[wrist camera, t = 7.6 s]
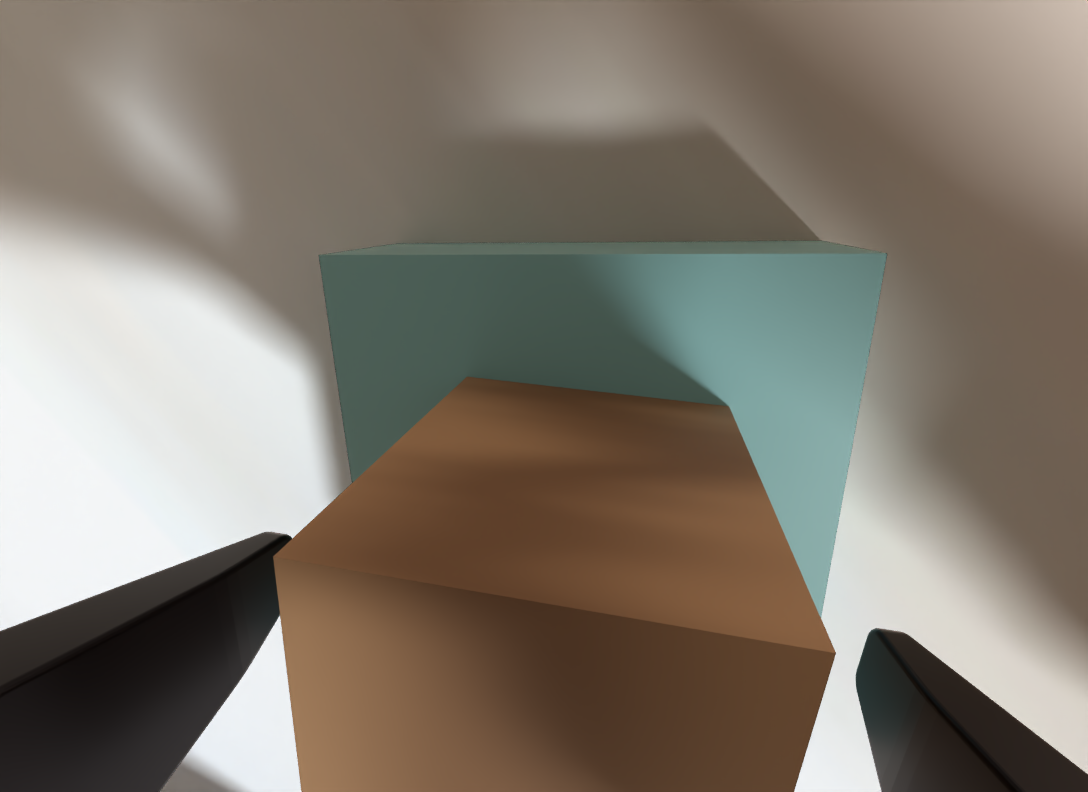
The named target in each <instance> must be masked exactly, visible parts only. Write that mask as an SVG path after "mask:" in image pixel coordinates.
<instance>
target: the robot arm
mask: <svg viewBox="0 0 1088 792" xmlns="http://www.w3.org/2000/svg"><path fill="white" fill-rule="evenodd" d="M290 540H292V538H291V536H289V535H287V534H281V533H275V532H264V533H261V534H258V535H255V536H253V537H250V538H247V539H245V540H242V541H239V542H237V543H234V544H231V545H229V546H226V547H223V548H221V549H218V550H215V551H213V552H210V553H207V554H205V555H202V556H199V557H197V558H194V559H191V560H189V561H186V562H183V563H181V564H178V565H175V566H173V567H170V568H167V569H165V570H162V571H159V572H157V573H154V574H151V575H149V576H146V577H143V578H141V579H138V580H135V581H133V582H130V583H127V584H125V585H122V586H119V587H117V588H114V589H111V590H109V591H106V592H103V593H101V594H98V595H95V596H93V597H90V598H87V599H85V600H82V601H79V602H77V603H74V604H71V605H69V606H66V607H63V608H61V609H58V610H55V611H53V612H50V613H47V614H45V615H42V616H39V617H37V618H34V619H31V620H29V621H26V622H23V623H21V624H18V625H15V626H13V627H10V628H7V629H5V630H2V631H0V792H160V791H161V789H162V788H163V786H164V785H165V784H166V782H167V781H168V780H169V778H170V777H171V775H172V774H173V773H174V771H175V770H176V769H177V767H178V766H179V764H180V763H181V762H182V760H183V759H184V757H185V756H186V755H187V753H188V752H189V751H190V749H191V748H192V746H193V745H194V744H195V742H196V741H197V740H198V738H199V737H200V735H201V734H202V733H203V731H204V730H205V728H206V727H207V726H208V724H209V723H210V722H211V720H212V719H213V717H214V716H215V715H216V713H217V712H218V711H219V709H220V708H221V706H222V705H223V704H224V702H225V701H226V699H227V698H228V697H229V695H230V694H231V693H232V691H233V690H234V688H235V687H236V685H237V684H238V683H239V681H240V680H241V678H242V677H243V675H244V674H245V672H246V671H247V669H248V667H249V666H250V664H251V663H252V661H253V659H254V658H255V656H256V654H257V653H258V651H259V649H260V648H261V646H262V644H263V643H264V641H265V639H266V638H267V636H268V634H269V632H270V631H271V629H272V627H273V626H274V624H275V622H276V621H277V619H278V617H279V616H280V609H279V601H278V593H277V584H276V576H275V568H274V560H273V556H274V555H275V554H276V553H278V552H279V551H280V550H281V549H282V548H283V547H284V546H285V545H286V544H287V543H288V542H289V541H290ZM856 688H857V693H858V697H859V701H860V705H861V710H862V714H863V718H864V722H865V726H866V730H867V734H868V738H869V742H870V746H871V751H872V755H873V759H874V763H875V767H876V771H877V775H878V779H879V783H880V787H881V791H882V792H1088V774H1087V773H1085V772H1084V771H1083V770H1081V769H1080V768H1079V767H1078V766H1076V765H1075V764H1074V763H1072V762H1071V761H1070V760H1069V759H1067V758H1066V757H1065V756H1063V755H1062V754H1061V753H1060V752H1058V751H1057V750H1056V749H1054V748H1053V747H1052V746H1051V745H1049V744H1048V743H1047V742H1045V741H1044V740H1043V739H1042V738H1040V737H1039V736H1038V735H1036V734H1035V733H1034V732H1033V731H1031V730H1030V729H1029V728H1027V727H1026V726H1025V725H1024V724H1022V723H1021V722H1020V721H1018V720H1017V719H1016V718H1014V717H1013V716H1012V715H1011V714H1009V713H1008V712H1007V711H1005V710H1004V709H1003V708H1002V707H1000V706H999V705H998V704H996V703H995V702H994V701H993V700H991V699H990V698H989V697H987V696H986V695H985V694H984V693H982V692H981V691H980V690H978V689H977V688H976V687H975V686H973V685H972V684H971V683H969V682H968V681H967V680H966V679H964V678H963V677H962V676H960V675H959V674H958V673H957V672H955V671H954V670H953V669H951V668H950V667H949V666H948V665H946V664H945V663H944V662H942V661H941V660H940V659H939V658H937V657H936V656H935V655H933V654H932V653H931V652H930V651H928V650H927V649H926V648H924V647H923V646H922V645H921V644H919V643H918V642H917V641H915V640H914V639H913V638H912V637H910V636H909V635H907V634H905V633H903V632H899V631H893V630H886V629H880V628H876V629H873V630H871V631H870V633H869V635H868V637H867V640H866V643H865V646H864V649H863V652H862V656H861V659H860V662H859V665H858V668H857V672H856Z"/></svg>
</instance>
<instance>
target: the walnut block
mask: <svg viewBox="0 0 1088 792" xmlns="http://www.w3.org/2000/svg"><path fill="white" fill-rule="evenodd" d="M273 560H274V568H275V576H276V584H277V593H278V601H279V609H280V617H281V626H282V634H283V642H284V651H285V659H286V667H287V675H288V684H289V692H290V700H291V708H292V717H293V725H294V733H295V741H296V750H297V758H298V766H299V774H300V783H301V791H302V792H794V790H795V786H796V783H797V780H798V776H799V773H800V770H801V767H802V763H803V760H804V757H805V753H806V750H807V747H808V743H809V740H810V737H811V733H812V730H813V727H814V724H815V720H816V717H817V714H818V710H819V707H820V704H821V700H822V697H823V694H824V691H825V687H826V684H827V681H828V677H829V674H830V671H831V667H832V664H833V661H834V658H835V654H836V652H835V650H834V648H833V646H832V643H831V641H830V639H829V636H828V634H827V632H826V629H825V627H824V625H823V622H822V620H821V618H820V615H819V613H818V611H817V608H816V606H815V604H814V602H813V599H812V597H811V595H810V592H809V590H808V588H807V585H806V583H805V581H804V578H803V576H802V574H801V571H800V569H799V567H798V565H797V562H796V560H795V558H794V555H793V553H792V551H791V548H790V546H789V544H788V541H787V539H786V537H785V534H784V532H783V530H782V527H781V525H780V523H779V521H778V518H777V516H776V514H775V511H774V509H773V507H772V504H771V502H770V500H769V497H768V495H767V493H766V490H765V488H764V486H763V484H762V481H761V479H760V477H759V474H758V472H757V470H756V467H755V465H754V463H753V460H752V458H751V456H750V453H749V451H748V449H747V447H746V444H745V442H744V440H743V437H742V435H741V433H740V430H739V428H738V426H737V423H736V421H735V419H734V416H733V414H732V412H731V409H730V407H729V406H722V405H713V404H704V403H695V402H686V401H678V400H669V399H660V398H651V397H642V396H634V395H625V394H616V393H607V392H598V391H590V390H581V389H572V388H563V387H554V386H546V385H537V384H528V383H519V382H510V381H502V380H493V379H484V378H475V377H466V378H465V379H464V380H463V381H462V382H461V383H460V384H458V385H457V386H456V387H455V388H454V389H453V390H452V391H451V392H450V393H449V394H448V395H447V396H446V397H444V398H443V399H442V400H441V401H440V402H439V403H438V404H437V405H436V406H435V407H434V408H433V409H432V410H430V411H429V412H428V413H427V414H426V415H425V416H424V417H423V418H422V419H421V420H420V421H419V422H418V423H416V424H415V425H414V426H413V427H412V428H411V429H410V430H409V431H408V432H407V433H406V434H405V435H404V436H402V437H401V438H400V439H399V440H398V441H397V442H396V443H395V444H394V445H393V446H392V447H391V448H390V449H388V450H387V451H386V452H385V453H384V454H383V455H382V456H381V457H380V458H379V459H378V460H377V461H376V462H374V463H373V464H372V465H371V466H370V467H369V468H368V469H367V470H366V471H365V472H364V473H363V474H362V475H360V476H359V477H358V478H357V479H356V480H355V481H354V482H353V483H352V484H351V485H350V486H349V487H348V488H346V489H345V490H344V491H343V492H342V493H341V494H340V495H339V496H338V497H337V498H336V499H335V500H334V501H332V502H331V503H330V504H329V505H328V506H327V507H326V508H325V509H324V510H323V511H322V512H321V513H320V514H318V515H317V516H316V517H315V518H314V519H313V520H312V521H311V522H310V523H309V524H308V525H307V526H306V527H304V528H303V529H302V530H301V531H300V532H299V533H298V534H297V535H296V536H295V537H294V538H293V539H292V540H290V541H289V542H288V543H287V544H286V545H285V546H284V547H283V548H282V549H281V550H280V551H279V552H278V553H276V554H275V555H274V556H273Z"/></svg>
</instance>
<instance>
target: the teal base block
mask: <svg viewBox="0 0 1088 792" xmlns="http://www.w3.org/2000/svg"><path fill="white" fill-rule="evenodd" d="M886 258H887V253H882V252H877V251H872V250H867V249H862V248H857V247H851V246H846V245H841V244H836V243H831V242H826V241H699V242H549V243H399V244H391V245H384V246H377V247H370V248H363V249H357V250H350V251H343V252H336V253H329V254H322V255H319V261H320V267H321V274H322V281H323V288H324V295H325V302H326V308H327V315H328V322H329V329H330V336H331V343H332V350H333V356H334V363H335V370H336V377H337V384H338V391H339V397H340V404H341V411H342V418H343V425H344V432H345V438H346V445H347V452H348V459H349V466H350V473H351V480H352V483H353V482H354V481H355V480H356V479H357V478H358V477H359V476H360V475H362V474H363V473H364V472H365V471H366V470H367V469H368V468H369V467H370V466H371V465H372V464H373V463H374V462H376V461H377V460H378V459H379V458H380V457H381V456H382V455H383V454H384V453H385V452H386V451H387V450H388V449H390V448H391V447H392V446H393V445H394V444H395V443H396V442H397V441H398V440H399V439H400V438H401V437H402V436H404V435H405V434H406V433H407V432H408V431H409V430H410V429H411V428H412V427H413V426H414V425H415V424H416V423H418V422H419V421H420V420H421V419H422V418H423V417H424V416H425V415H426V414H427V413H428V412H429V411H430V410H432V409H433V408H434V407H435V406H436V405H437V404H438V403H439V402H440V401H441V400H442V399H443V398H444V397H446V396H447V395H448V394H449V393H450V392H451V391H452V390H453V389H454V388H455V387H456V386H457V385H458V384H460V383H461V382H462V381H463V380H464V379H465V378H466V377H475V378H484V379H493V380H502V381H510V382H519V383H528V384H537V385H546V386H554V387H563V388H572V389H581V390H590V391H598V392H607V393H616V394H625V395H634V396H642V397H651V398H660V399H669V400H678V401H686V402H695V403H704V404H713V405H722V406H729V407H730V409H731V412H732V414H733V416H734V419H735V421H736V423H737V426H738V428H739V430H740V433H741V435H742V437H743V440H744V442H745V444H746V447H747V449H748V451H749V453H750V456H751V458H752V460H753V463H754V465H755V467H756V470H757V472H758V474H759V477H760V479H761V481H762V484H763V486H764V488H765V490H766V493H767V495H768V497H769V500H770V502H771V504H772V507H773V509H774V511H775V514H776V516H777V518H778V521H779V523H780V525H781V527H782V530H783V532H784V534H785V537H786V539H787V541H788V544H789V546H790V548H791V551H792V553H793V555H794V558H795V560H796V562H797V565H798V567H799V569H800V571H801V574H802V576H803V578H804V581H805V583H806V585H807V588H808V590H809V592H810V595H811V597H812V599H813V602H814V604H815V606H816V608H817V611H818V613H819V615H820V618H821V615H822V609H823V604H824V598H825V593H826V587H827V582H828V576H829V571H830V565H831V560H832V554H833V549H834V543H835V538H836V532H837V527H838V521H839V516H840V510H841V505H842V499H843V494H844V489H845V483H846V478H847V472H848V467H849V461H850V456H851V450H852V445H853V439H854V434H855V428H856V423H857V417H858V412H859V406H860V401H861V395H862V390H863V384H864V379H865V373H866V368H867V362H868V357H869V351H870V346H871V340H872V335H873V329H874V324H875V318H876V313H877V307H878V302H879V296H880V291H881V285H882V280H883V274H884V269H885V263H886Z"/></svg>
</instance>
